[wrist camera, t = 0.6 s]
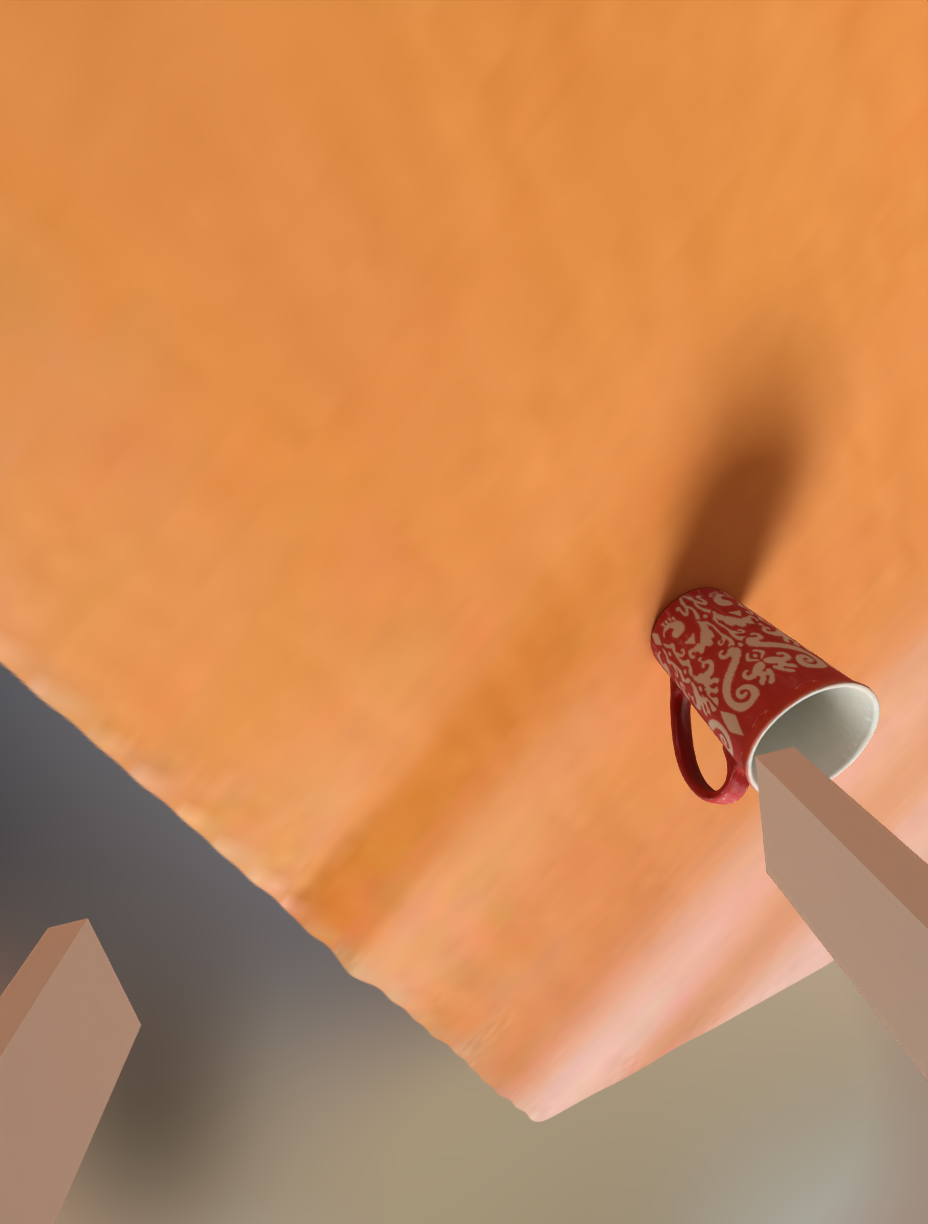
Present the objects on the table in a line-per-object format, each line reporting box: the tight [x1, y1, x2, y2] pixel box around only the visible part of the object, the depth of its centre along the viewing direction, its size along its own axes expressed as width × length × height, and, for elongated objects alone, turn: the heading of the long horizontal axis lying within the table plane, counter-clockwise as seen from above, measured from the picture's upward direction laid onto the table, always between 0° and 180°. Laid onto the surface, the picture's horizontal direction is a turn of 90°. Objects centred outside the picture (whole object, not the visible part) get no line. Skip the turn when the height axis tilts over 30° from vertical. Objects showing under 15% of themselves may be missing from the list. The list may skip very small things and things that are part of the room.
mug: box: [651, 588, 880, 804], centre depth 46 cm, size 13×9×14 cm
